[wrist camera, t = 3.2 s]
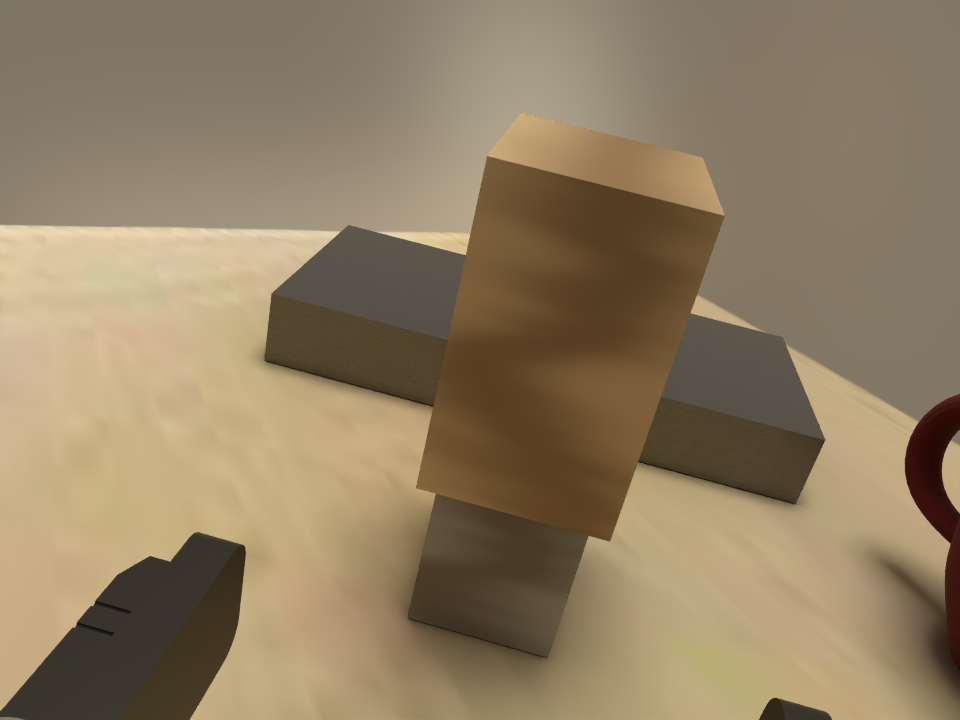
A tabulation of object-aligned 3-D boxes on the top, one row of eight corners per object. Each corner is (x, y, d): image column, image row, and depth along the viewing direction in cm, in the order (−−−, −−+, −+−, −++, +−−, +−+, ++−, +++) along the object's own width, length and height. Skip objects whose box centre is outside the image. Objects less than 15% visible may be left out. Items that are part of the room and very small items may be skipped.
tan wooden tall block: (387, 620, 23) (487, 156, 17) (433, 497, 28) (521, 112, 23) (564, 670, 23) (724, 215, 17) (577, 537, 28) (702, 157, 22)
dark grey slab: (264, 360, 34) (271, 293, 33) (340, 280, 43) (348, 225, 42) (795, 503, 33) (825, 440, 32) (760, 390, 42) (782, 337, 41)
